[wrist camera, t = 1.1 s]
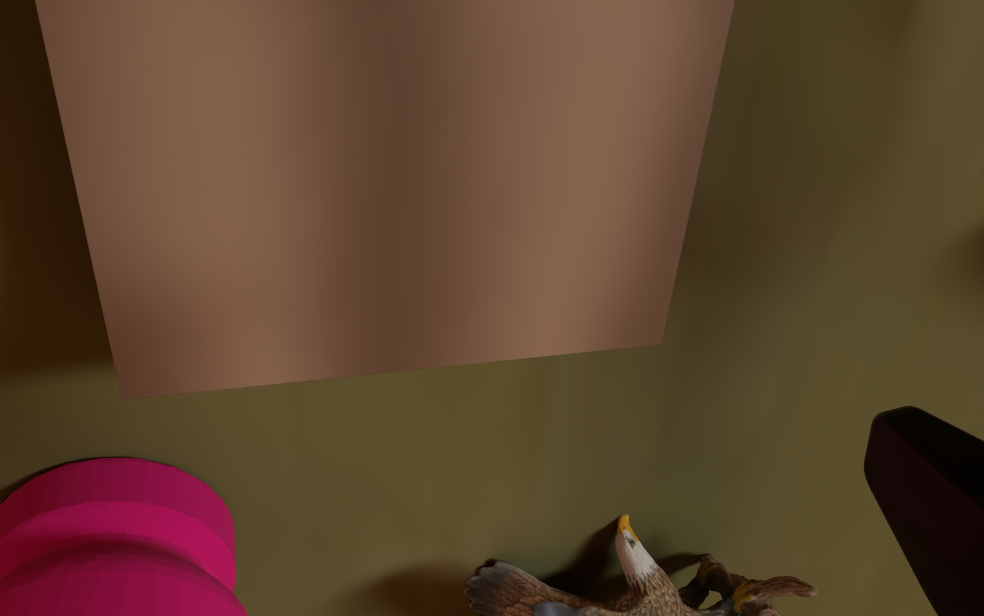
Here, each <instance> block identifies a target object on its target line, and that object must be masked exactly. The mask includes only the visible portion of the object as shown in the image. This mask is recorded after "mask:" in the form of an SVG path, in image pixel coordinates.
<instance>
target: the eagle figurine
mask: <svg viewBox="0 0 984 616" xmlns="http://www.w3.org/2000/svg"><path fill="white" fill-rule="evenodd" d="M615 547H616V552H617V555H618V558H619V561H620V563H621V566H622V568H623V571H624V573H625V576H626V580H627V584H628V590H627V591H626V592H625V593H624V594H623V595H621V596H618V597H616V598H613V599H611V600H603V601H594V600H589V599H586V598H582V597H579V596H576V595H573V594H570V593H567V592H564V591H561V590H559V589H556V588H552V587H549V586H548V585H546V584H545V583H544V582H541V581H539V580H538V579H536V578H535V577H533V576H532V575H530V574H528V573H526V572H524V571H523V570H521V569H519V568H518V567H516V566H514V565H511V564H508V563H506V562H504V561H500V560H499V561H496V562H495V564H494V566H493V567H491V566H490V567H482V568H480V570H479V575H476V576H471V577H470V578H468V579H467V581H466V584H467V585H468V587H467V588H466V589H464V591H463V593H464V595H465V597H467V598H469V599H470V600H471V601H472V602H470V603H469V607H470V609H472V610H473V611H475V612H477V613H479V614H483V615H484V616H780V614H779V613H778V611H777V610H776V609H775V608H774V607H773V605H772V604H771V599H772V598H774V597H781V596H790V595H797V596H801V597H815V596H816V595H817V594H818V592H817V590H816V589H815V588H814V587H812V586H811V585H809V584H807V583H805V582H804V581H801V580H800V579H798V578H795V577H791V576H779V577H774V578H770V579H768V580H765V581H764V580H758V581H757V580H755V579H752V580H749V579H746V578H745V577H744V576H739V575H737V574H732V573H730V572H729V571H728V570H727V569H726V568H725V567H724V565H723V564H721V563H718V562H717V560H715V558H714V557H713V556H712V555H711V554H706V555H705V556H701V557H700V563H701V564H700V567H699V569H698V571H697V575H696V577H695V578H694V579H692V580H691V582H690V583H689V584H688V585H687V586H685V587H682V588H680V589H679V590H678V591H677V589H676V588H675V586H674V585H673V584H672V583H671V581H670V580H669V578H668V576H667V575H666V573H665V572H664V571H663V570H662V569H661V568H660V567H659V566H658V565H657V563H656V562H655V561H654V560H653V558H652V557H651V556H650V555H649V554H648V552H647V551H646V550H645V549H644V547H643V546H642V544H641V543H640V541H639V540H638V538H637V537H636V535H635V534H634V532H633V531H632V529H631V527H630V524H629V516H628V515H627V514H626V515H622V516H620V517H619V520H618V532H617V537H616V539H615ZM709 590H711V591H716V592H719V593H720V594H721V596H722V599H723V600H720V601H718V602H717V603H716V604H715V605H713V606H711V607H709V608H707V609H698V608H699V606H700V605H701V604H702V603H703V602H704V600H705V598H706V597H707V596H708V595H709Z"/></svg>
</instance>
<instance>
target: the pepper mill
mask: <svg viewBox="0 0 984 616" xmlns="http://www.w3.org/2000/svg"><path fill="white" fill-rule="evenodd" d="M234 585H235V531H234V524H233V520H232V517H231V514H230V512H229V510H228V508H227V507H226V505H225V503H224V502H223V500H222V499H221V498H220V497H219V496H218V495H217V494H216V493H215V492H214V491H213V490H212V489H211V488H210V487H209V486H208V485H207V484H206V483H204V482H203V481H201V480H199V479H197V478H195V477H194V476H192V475H190V474H188V473H186V472H184V471H182V470H180V469H178V468H176V467H174V466H170V465H166V464H161V463H157V462H153V461H148V460H144V459H140V458H97V459H92V460H86V461H80V462H75V463H69V464H66V465H63V466H61V467H58V468H56V469H54V470H51V471H49V472H46V473H44V474H42V475H39V476H37V477H35V478H33V479H31V480H30V481H28V482H27V483H26V484H24V485H23V486H22V487H20V488H19V489H17V490H16V491H15V492H13V493H12V494H11V495H9V497H8V498H7V499H6V500H5V501H4V502H3V503H2V504H1V505H0V616H248V614H247V612H246V611H245V609H244V607H243V606H242V605H241V603H240V602H239V601H238V599H237V598H236V597H235V596H234V594H233V593H232V592H233V589H234Z"/></svg>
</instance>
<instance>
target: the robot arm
mask: <svg viewBox="0 0 984 616" xmlns="http://www.w3.org/2000/svg"><path fill="white" fill-rule="evenodd" d="M864 472H865V477H866V480H867V483H868V485H869V487H870V489H871V491H872V493H873V495H874V497H875V499H876V501H877V503H878V505H879V507H880V508H881V510H882V512H883V514H884V516H885V518H886V520H887V522H888V524H889V526H890V528H891V530H892V532H893V533H894V535H895V537H896V539H897V541H898V543H899V545H900V547H901V549H902V551H903V553H904V555H905V557H906V558H907V560H908V562H909V564H910V566H911V568H912V570H913V572H914V574H915V576H916V578H917V580H918V582H919V583H920V585H921V587H922V589H923V591H924V593H925V594H926V596H927V598H928V600H929V602H930V603H931V605H932V607H933V608H934V610H935V611H936V613H937V615H938V616H984V441H983V440H981V439H979V438H977V437H975V436H973V435H971V434H969V433H967V432H965V431H963V430H961V429H959V428H957V427H955V426H953V425H951V424H949V423H947V422H945V421H943V420H941V419H939V418H937V417H935V416H933V415H931V414H929V413H927V412H926V411H924V410H922V409H919V408H917V407H913V406H904V407H900V408H896V409H892V410H889V411H885V412H881V413H879V414H877V415H876V417H875V418H874V419H873V422H872V426H871V430H870V435H869V440H868V445H867V450H866V455H865V460H864Z"/></svg>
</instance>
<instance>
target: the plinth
mask: <svg viewBox="0 0 984 616" xmlns="http://www.w3.org/2000/svg"><path fill="white" fill-rule="evenodd" d="M35 2H36V7H37V12H38V16H39V21H40V25H41V30H42V35H43V39H44V44H45V48H46V53H47V58H48V62H49V67H50V71H51V76H52V81H53V85H54V90H55V94H56V99H57V104H58V108H59V113H60V117H61V122H62V127H63V131H64V136H65V140H66V145H67V150H68V154H69V159H70V164H71V168H72V173H73V177H74V182H75V187H76V191H77V196H78V200H79V205H80V210H81V214H82V219H83V223H84V228H85V233H86V237H87V242H88V246H89V251H90V256H91V260H92V265H93V269H94V274H95V279H96V283H97V288H98V292H99V297H100V302H101V306H102V311H103V315H104V320H105V325H106V329H107V334H108V338H109V343H110V348H111V352H112V357H113V361H114V366H115V371H116V375H117V380H118V384H119V389H120V394H121V398H122V400H125V399H135V398H144V397H154V396H164V395H173V394H183V393H193V392H202V391H212V390H222V389H232V388H241V387H251V386H261V385H270V384H280V383H290V382H299V381H309V380H319V379H329V378H338V377H348V376H358V375H367V374H377V373H387V372H396V371H406V370H416V369H426V368H435V367H445V366H455V365H464V364H474V363H484V362H493V361H503V360H513V359H523V358H532V357H542V356H552V355H561V354H571V353H581V352H590V351H600V350H610V349H619V348H629V347H639V346H649V345H658V344H662V339H663V334H664V330H665V325H666V320H667V316H668V311H669V306H670V302H671V297H672V292H673V288H674V283H675V278H676V274H677V269H678V264H679V260H680V255H681V250H682V246H683V241H684V236H685V232H686V227H687V222H688V218H689V213H690V208H691V203H692V199H693V194H694V189H695V185H696V180H697V175H698V171H699V166H700V161H701V157H702V152H703V147H704V143H705V138H706V133H707V129H708V124H709V119H710V115H711V110H712V105H713V101H714V96H715V91H716V87H717V82H718V77H719V73H720V68H721V63H722V59H723V54H724V49H725V44H726V40H727V35H728V30H729V26H730V21H731V16H732V12H733V7H734V2H735V0H35Z"/></svg>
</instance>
